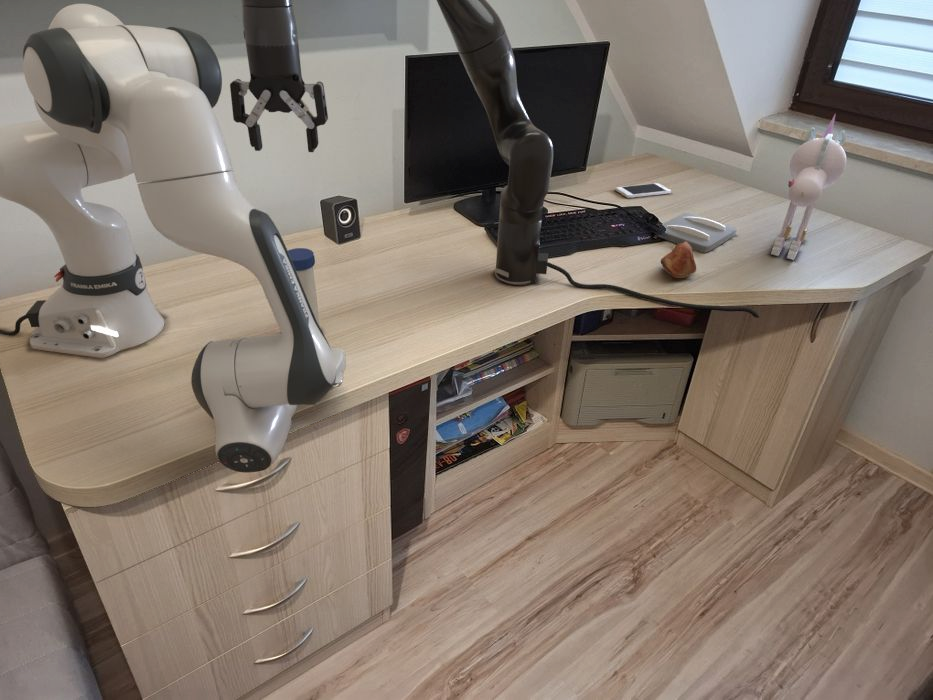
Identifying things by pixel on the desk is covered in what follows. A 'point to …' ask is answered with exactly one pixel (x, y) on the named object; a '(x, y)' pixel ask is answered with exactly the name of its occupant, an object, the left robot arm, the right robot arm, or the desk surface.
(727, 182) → the desk surface
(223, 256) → the left robot arm
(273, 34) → the right robot arm
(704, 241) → the light switch
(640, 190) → the smartphone
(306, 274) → the jar
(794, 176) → the toy
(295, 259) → the lid
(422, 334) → the desk surface
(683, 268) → the fossil
